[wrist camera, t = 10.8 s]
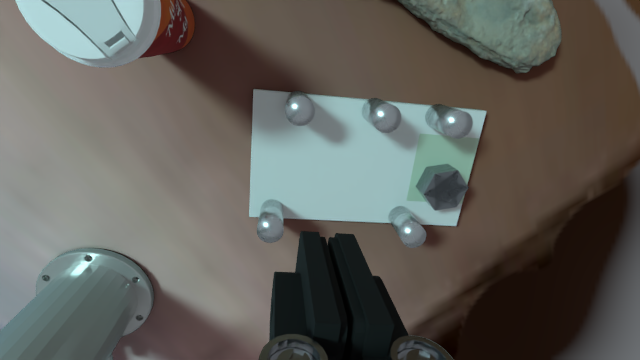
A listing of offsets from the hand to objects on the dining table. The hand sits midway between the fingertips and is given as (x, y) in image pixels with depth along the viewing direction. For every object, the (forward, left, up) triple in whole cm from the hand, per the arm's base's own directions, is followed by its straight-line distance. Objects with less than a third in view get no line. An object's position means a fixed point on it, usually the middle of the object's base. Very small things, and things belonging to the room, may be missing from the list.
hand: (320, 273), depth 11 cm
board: (-4, -8, -27) cm, 28 cm away
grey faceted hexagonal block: (-6, -17, -26) cm, 31 cm away
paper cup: (+8, +13, -27) cm, 31 cm away
